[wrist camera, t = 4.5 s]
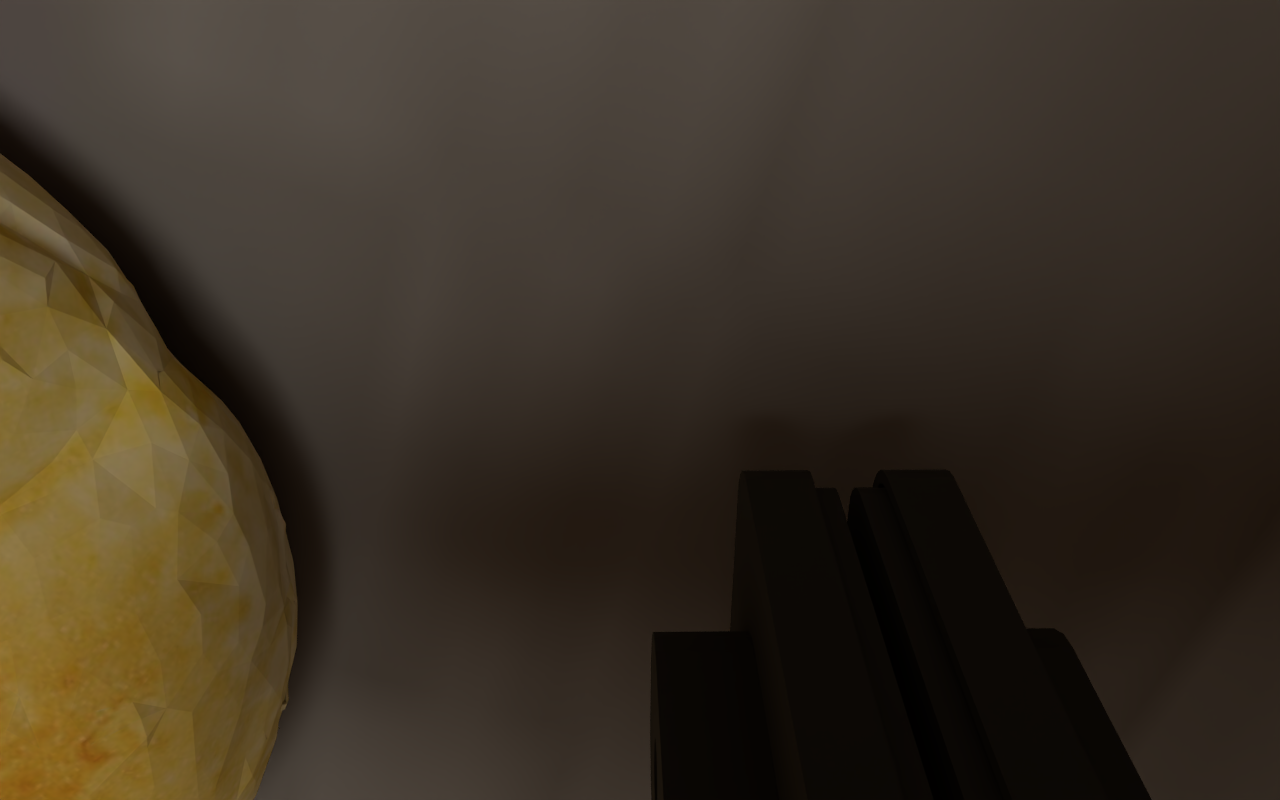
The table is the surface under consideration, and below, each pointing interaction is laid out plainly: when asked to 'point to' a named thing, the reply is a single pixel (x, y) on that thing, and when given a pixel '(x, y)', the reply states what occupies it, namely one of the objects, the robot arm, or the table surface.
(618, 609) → the table surface
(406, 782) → the table surface
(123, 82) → the table surface
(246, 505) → the bread roll
